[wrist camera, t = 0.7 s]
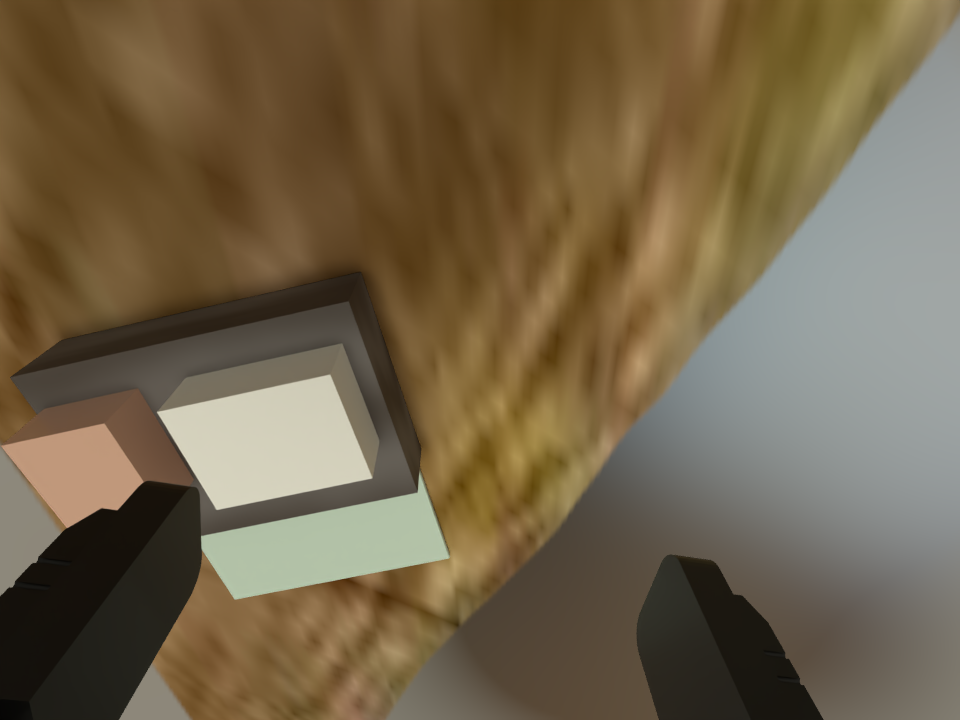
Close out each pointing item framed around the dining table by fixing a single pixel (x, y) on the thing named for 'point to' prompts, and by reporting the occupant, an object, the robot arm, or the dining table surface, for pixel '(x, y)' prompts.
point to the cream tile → (274, 427)
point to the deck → (234, 342)
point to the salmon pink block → (95, 454)
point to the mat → (328, 545)
